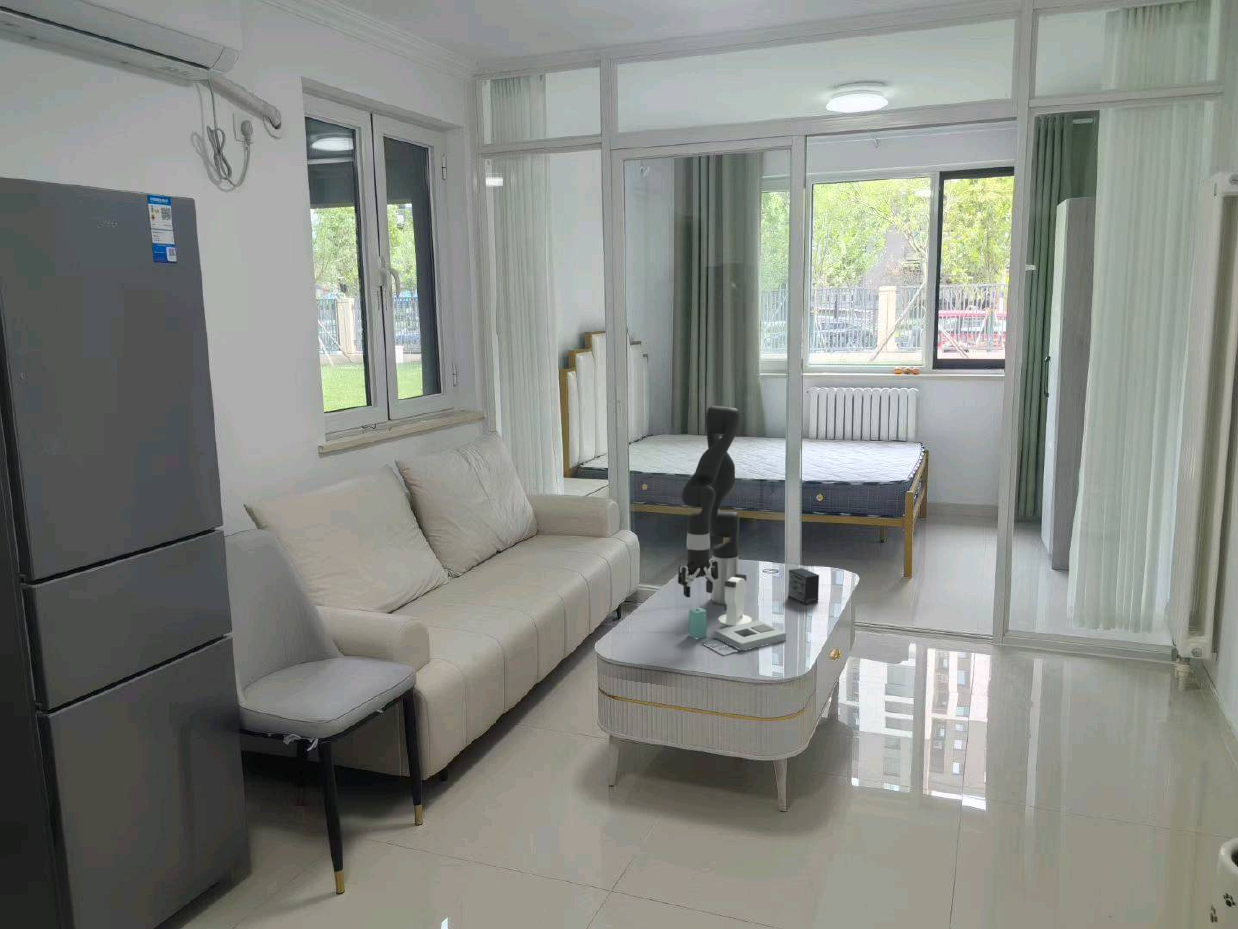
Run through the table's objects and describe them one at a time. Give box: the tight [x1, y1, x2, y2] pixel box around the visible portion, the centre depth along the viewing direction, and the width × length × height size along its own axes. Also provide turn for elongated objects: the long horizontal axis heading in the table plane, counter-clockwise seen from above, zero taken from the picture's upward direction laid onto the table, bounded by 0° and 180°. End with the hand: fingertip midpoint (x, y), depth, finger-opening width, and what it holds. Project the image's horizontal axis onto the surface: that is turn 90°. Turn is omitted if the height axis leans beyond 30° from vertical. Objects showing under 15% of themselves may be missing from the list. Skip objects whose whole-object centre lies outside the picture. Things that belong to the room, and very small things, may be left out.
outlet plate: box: [714, 620, 787, 651], centre depth 301 cm, size 14×18×3 cm
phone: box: [700, 638, 736, 650], centre depth 294 cm, size 6×12×1 cm, turn 30°
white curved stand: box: [718, 573, 753, 627], centre depth 318 cm, size 12×11×15 cm
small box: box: [787, 567, 820, 606], centre depth 339 cm, size 11×6×10 cm, turn 25°
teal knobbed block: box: [688, 607, 707, 639], centre depth 304 cm, size 4×4×10 cm
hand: (698, 594), depth 302 cm, fingers open, 8 cm apart
